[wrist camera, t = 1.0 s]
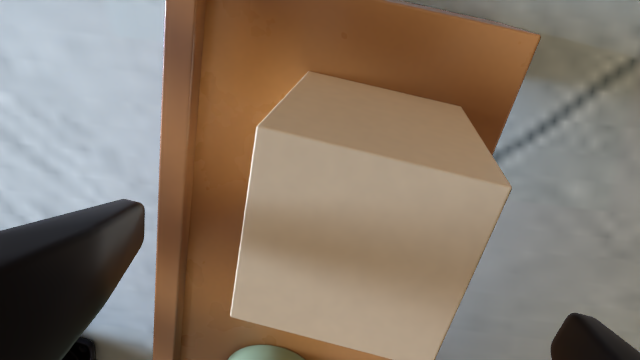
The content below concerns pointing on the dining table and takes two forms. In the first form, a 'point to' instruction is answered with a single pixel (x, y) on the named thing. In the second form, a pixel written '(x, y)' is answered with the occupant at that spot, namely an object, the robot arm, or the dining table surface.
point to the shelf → (259, 100)
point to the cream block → (364, 217)
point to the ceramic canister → (264, 353)
